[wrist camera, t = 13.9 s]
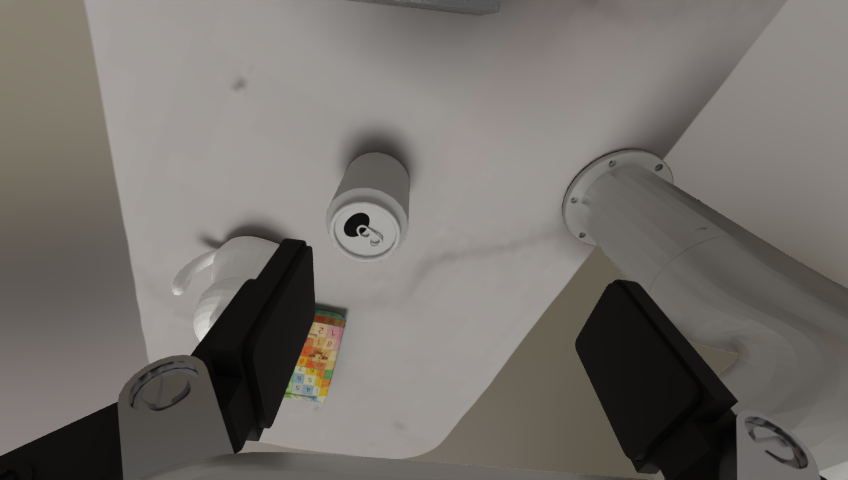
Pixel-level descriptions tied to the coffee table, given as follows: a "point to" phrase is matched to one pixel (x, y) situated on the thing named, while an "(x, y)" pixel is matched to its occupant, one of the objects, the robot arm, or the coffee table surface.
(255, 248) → the cat figurine
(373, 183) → the can
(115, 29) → the coffee table surface
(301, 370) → the puzzle game
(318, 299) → the coffee table surface
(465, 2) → the grey square socket block
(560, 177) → the coffee table surface
